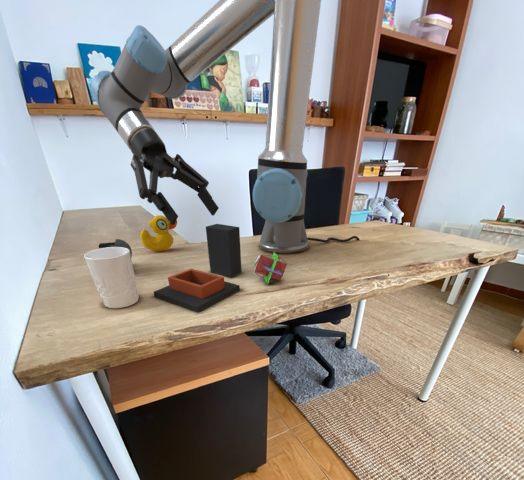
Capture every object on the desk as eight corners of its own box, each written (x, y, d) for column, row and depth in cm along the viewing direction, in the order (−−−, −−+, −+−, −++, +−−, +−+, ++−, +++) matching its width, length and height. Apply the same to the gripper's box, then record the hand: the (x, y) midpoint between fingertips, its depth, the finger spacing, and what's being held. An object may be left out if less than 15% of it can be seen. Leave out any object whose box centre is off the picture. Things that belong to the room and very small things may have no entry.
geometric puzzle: (288, 266, 72) (269, 240, 68) (297, 275, 66) (277, 248, 62) (265, 284, 73) (245, 260, 69) (272, 295, 68) (251, 270, 63)
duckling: (180, 246, 95) (175, 212, 89) (182, 250, 91) (177, 216, 85) (143, 249, 92) (135, 215, 86) (144, 254, 88) (135, 218, 82)
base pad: (198, 278, 71) (196, 263, 69) (240, 290, 65) (239, 274, 63) (154, 296, 62) (150, 280, 60) (198, 312, 56) (195, 294, 54)
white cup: (100, 313, 56) (82, 261, 51) (101, 297, 62) (84, 249, 57) (143, 305, 59) (130, 255, 53) (140, 291, 65) (128, 245, 59)
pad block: (220, 268, 78) (216, 223, 71) (241, 273, 74) (239, 227, 68) (210, 272, 75) (205, 226, 69) (231, 277, 71) (228, 230, 65)
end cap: (134, 275, 73) (126, 247, 69) (103, 278, 71) (94, 250, 68) (135, 263, 81) (128, 237, 77) (107, 266, 79) (99, 240, 75)
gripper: (177, 154, 81) (223, 218, 82) (90, 155, 64) (149, 236, 66) (188, 129, 75) (236, 198, 77) (95, 124, 59) (160, 212, 60)
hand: (196, 216), depth 71 cm, fingers open, 13 cm apart
